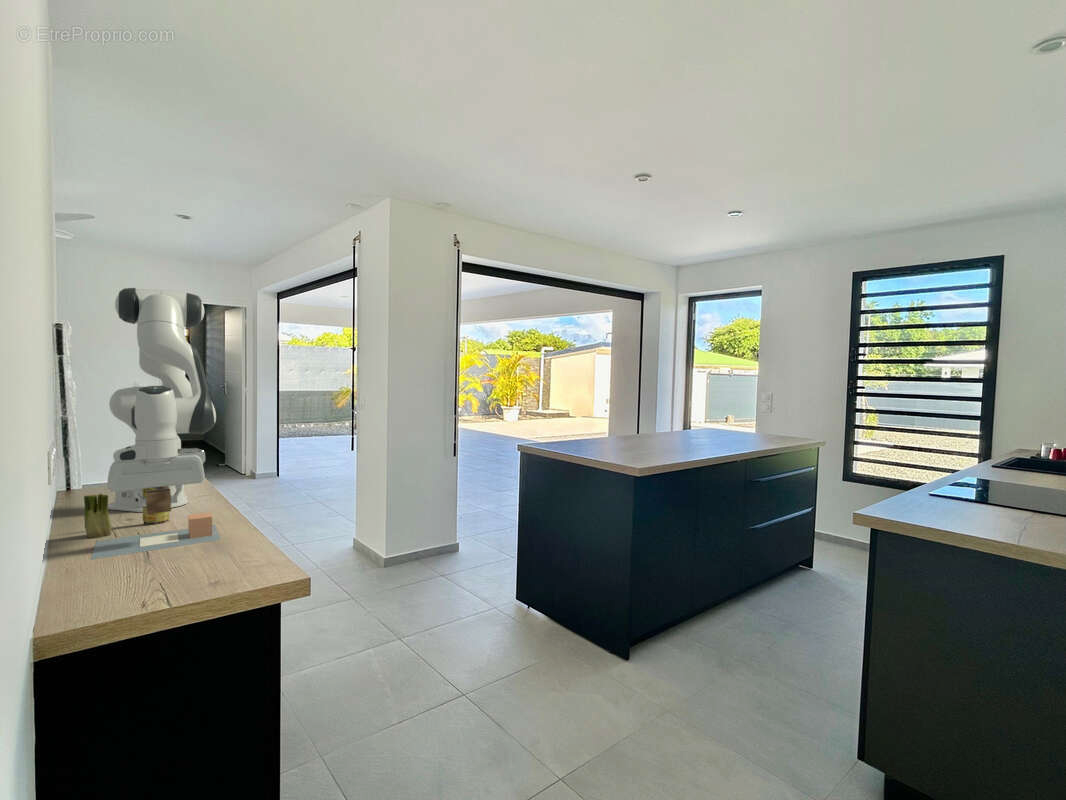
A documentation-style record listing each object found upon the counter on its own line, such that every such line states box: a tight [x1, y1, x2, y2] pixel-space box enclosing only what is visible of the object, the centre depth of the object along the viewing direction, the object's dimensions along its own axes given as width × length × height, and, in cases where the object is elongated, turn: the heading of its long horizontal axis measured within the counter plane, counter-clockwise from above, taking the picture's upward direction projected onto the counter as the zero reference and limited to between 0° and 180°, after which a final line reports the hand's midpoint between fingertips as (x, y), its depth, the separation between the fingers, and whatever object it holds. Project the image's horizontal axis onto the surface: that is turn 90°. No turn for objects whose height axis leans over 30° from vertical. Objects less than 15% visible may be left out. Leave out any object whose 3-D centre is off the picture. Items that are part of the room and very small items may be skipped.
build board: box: [90, 524, 222, 560], centre depth 138 cm, size 26×16×1 cm, turn 125°
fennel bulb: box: [83, 493, 112, 539], centre depth 141 cm, size 6×5×12 cm
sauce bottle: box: [142, 486, 170, 526], centre depth 154 cm, size 7×6×20 cm
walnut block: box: [146, 488, 172, 514], centre depth 137 cm, size 5×5×5 cm
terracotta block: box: [188, 512, 213, 539], centre depth 143 cm, size 5×5×5 cm
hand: (158, 504), depth 137 cm, fingers closed on walnut block, 5 cm apart
